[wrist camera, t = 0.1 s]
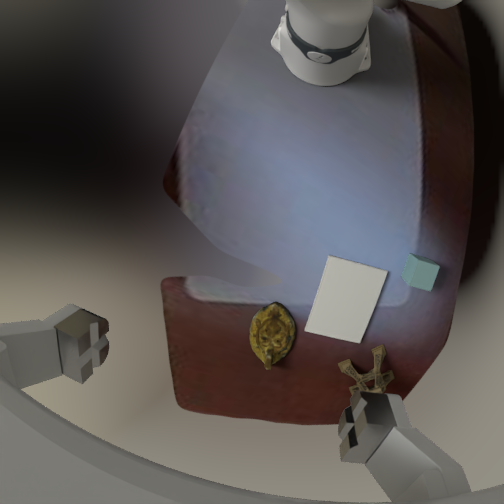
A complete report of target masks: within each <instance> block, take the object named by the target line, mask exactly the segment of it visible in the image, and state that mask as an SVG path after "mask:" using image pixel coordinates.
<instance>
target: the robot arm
mask: <svg viewBox="0 0 504 504" xmlns="http://www.w3.org/2000/svg"><path fill="white" fill-rule="evenodd" d="M407 1H412V2H416V3H420V4H424V5H429V6H433V7H437V8H440V9H445V8H448V7H451V6H453V5H456V4H457V3H459V2H460V1H462V0H407ZM286 2H287V4H286V6H285V11H287V13H286V14H285V16H282V18H281V23H280V25H279V27H278V29H277V31H276V32H275V34H274V36H273V38H272V40H271V46H272V47H273V48H274V49H275V50H276V51H277V52H278V53H280V54H281V56H282V57H283V59H284V61H285V63H286V65H287V67H288V68H289V70H290V71H291V72H292V73H293V74H294V75H295V76H297V77H298V78H300V79H301V80H303V81H305V82H308V83H310V84H314V85H319V86H332V85H337V84H340V83H342V82H344V81H346V80H348V79H349V78H350V77H351V76H353V75H354V74H355V73H358V72H362V71H366V70H368V69H369V68H370V66H371V55H370V42H369V31H368V21H369V19H370V17H371V15H372V12H373V9H374V0H286ZM278 37H279V39H278ZM365 58H366V60H364V59H365ZM108 324H109V323H108V321H107V320H106V319H105V318H103V317H100V316H98V315H96V314H94V313H92V312H90V311H87V310H85V309H83V308H80V307H79V306H76V305H74V304H68V305H66V306H65V307H63V308H62V309H60V310H58V311H57V312H55V313H54V314H52V315H51V316H49V317H47V318H46V319H44V320H43V321H41V320H30V321H21V322H11V323H2V324H0V504H504V484H502V485H499V486H495V487H491V488H487V489H483V490H479V491H474V492H471V489H470V486H469V484H468V481H467V478H466V476H465V473H464V471H463V468H462V466H461V465H460V464H458V463H457V462H456V461H455V460H454V459H452V458H451V457H450V456H449V455H447V454H446V453H445V452H444V451H443V450H442V449H440V448H439V447H438V446H437V445H435V444H434V443H433V442H432V441H431V440H430V439H428V438H427V437H426V436H425V435H424V434H422V433H421V432H420V431H419V430H418V429H417V428H412V426H411V423H410V420H409V418H408V415H407V412H406V410H405V407H404V404H403V401H402V399H401V397H400V396H399V395H395V394H381V393H373V392H366V391H360V390H356V391H355V392H354V393H353V395H352V397H351V399H350V401H351V406H349V407H347V408H346V409H345V410H344V411H343V413H342V415H341V418H340V421H339V426H338V435H339V437H340V438H341V439H342V440H343V441H342V443H341V444H340V457H341V461H343V462H351V463H362V464H365V466H366V467H367V468H368V470H369V471H370V473H371V474H372V475H373V477H374V478H375V479H376V481H377V482H378V483H379V485H380V486H381V488H382V489H383V490H384V492H385V493H386V494H387V496H388V497H389V498H390V500H391V501H392V502H382V503H351V502H331V501H317V500H307V499H298V498H290V497H283V496H277V495H271V494H265V493H259V492H255V491H250V490H245V489H240V488H236V487H232V486H227V485H224V484H220V483H216V482H212V481H209V480H205V479H202V478H199V477H195V476H192V475H189V474H186V473H183V472H180V471H177V470H174V469H171V468H168V467H166V466H163V465H160V464H157V463H155V462H152V461H149V460H147V459H145V458H142V457H140V456H138V455H135V454H133V453H131V452H128V451H126V450H124V449H121V448H120V447H117V446H115V445H113V444H111V443H109V442H107V441H105V440H103V439H101V438H99V437H97V436H95V435H93V434H91V433H89V432H87V431H86V430H83V429H82V428H80V427H78V426H77V425H75V424H73V423H71V422H70V421H68V420H66V419H64V418H63V417H61V416H60V415H58V414H56V413H54V412H53V411H51V410H50V409H48V408H47V407H45V406H44V405H42V404H41V403H39V402H38V401H36V400H35V399H33V398H32V397H30V396H29V395H28V394H26V393H25V392H23V391H22V390H21V389H22V388H25V387H28V386H31V385H34V384H37V383H40V382H43V381H46V380H49V379H52V378H55V377H58V376H61V375H62V374H64V375H65V376H67V377H69V378H71V379H73V380H75V381H77V382H79V383H81V384H83V383H84V382H85V381H86V380H87V379H88V378H89V377H90V376H91V375H92V374H93V368H94V367H99V366H100V365H102V363H103V362H104V361H105V359H106V357H107V355H108V351H109V341H108V339H107V338H106V335H105V334H106V333H107V332H108V331H109V325H108Z"/></svg>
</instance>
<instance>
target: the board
mask: <svg viewBox="0 0 504 504" xmlns="http://www.w3.org/2000/svg"><path fill="white" fill-rule="evenodd" d="M387 272H388V271H387V270H383V269H380V268H376V267H373V266H369V265H365V264H362V263H358V262H354V261H350V260H347V259H343V258H339V257H336V256H332V255H329V256H328V259H327V262H326V265H325V269H324V272H323V275H322V278H321V282H320V285H319V288H318V291H317V294H316V297H315V300H314V303H313V306H312V309H311V312H310V315H309V318H308V321H307V324H306V327H305V331H307V332H312V333H316V334H320V335H324V336H329V337H333V338H338V339H342V340H347V341H351V342H356V343H360V341H361V339H362V337H363V334H364V332H365V330H366V327H367V325H368V322H369V320H370V318H371V315H372V313H373V310H374V307H375V305H376V302H377V300H378V297H379V294H380V292H381V289H382V286H383V284H384V281H385V278H386V275H387Z"/></svg>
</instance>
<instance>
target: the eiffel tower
mask: <svg viewBox="0 0 504 504" xmlns="http://www.w3.org/2000/svg"><path fill="white" fill-rule="evenodd" d="M371 350H372V352H373V355H374V369H373V370H371V371H370V372H368V373H366V374H358V373H357V372H356V371H355V369H354V368H353V365H352V363H351V361H350V359H347V360H345V361H342V362H340V363H338V365H339V367H340V369H341V372H342V373H343V372H344V373H345V374H347V375H349V376H351V377H353V378H354V379H355V380H356V381H357V384H356V385H354V386H351V387H349V389H350V391H351V394H352V395H353V393H354V392H355V391H356V390H360V391H366V392H373V393H381V394H383V393H384V390H386V386H387V385H388V383H389V382H390V381H391V380H392V379H394V375H393V372H392V370H390V371H388V372H385V373H383V374H381V373H380V366H381V364H382V361H383V359H384V356H385V355H386V351H385V348H384V345H383V344H382V345H380V346H378V347H376V348H373V349H371ZM374 378H375V385H374V386H371V387H366V385H365V384H364V382H367V381H369V380H372V379H374Z"/></svg>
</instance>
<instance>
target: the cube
mask: <svg viewBox="0 0 504 504" xmlns="http://www.w3.org/2000/svg"><path fill="white" fill-rule="evenodd" d="M439 267H440V266H439V265H437V264H436V263H434V262H433V261H432V260H430V259H428V258H424V257H421V256H418V255H415V254H411V253H409V255H408V258H407V261H406V264H405V267H404V270H403V273H402V276H401V277H402V278H403V280H404V281H405V282H406V283H407V284H408V285H409V286H412V287H416V288H420V289H424V290H427V291H431V289H432V287H433V284H434V281H435V279H436V276H437V273H438V270H439Z"/></svg>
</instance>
